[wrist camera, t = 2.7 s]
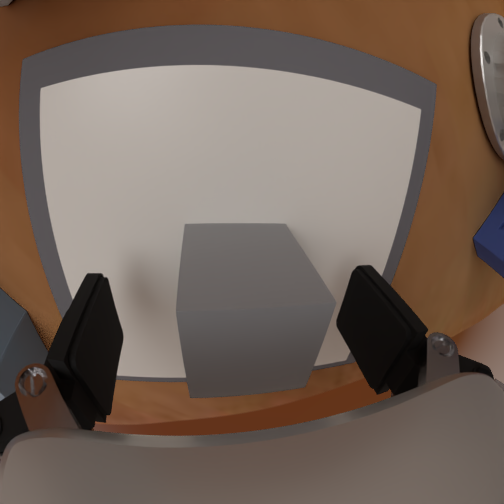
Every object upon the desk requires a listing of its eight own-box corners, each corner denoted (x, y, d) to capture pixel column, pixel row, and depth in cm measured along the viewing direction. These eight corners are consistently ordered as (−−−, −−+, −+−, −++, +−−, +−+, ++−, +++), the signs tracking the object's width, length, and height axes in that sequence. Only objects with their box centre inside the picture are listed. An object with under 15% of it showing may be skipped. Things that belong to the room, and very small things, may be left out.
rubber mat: (430, 84, 10) (436, 84, 9) (352, 357, 20) (355, 362, 19) (28, 60, 6) (22, 59, 6) (93, 371, 16) (92, 377, 15)
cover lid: (408, 107, 10) (509, 130, 5) (340, 350, 18) (374, 418, 13) (52, 88, 7) (-49, 94, 2) (108, 362, 15) (94, 442, 10)
